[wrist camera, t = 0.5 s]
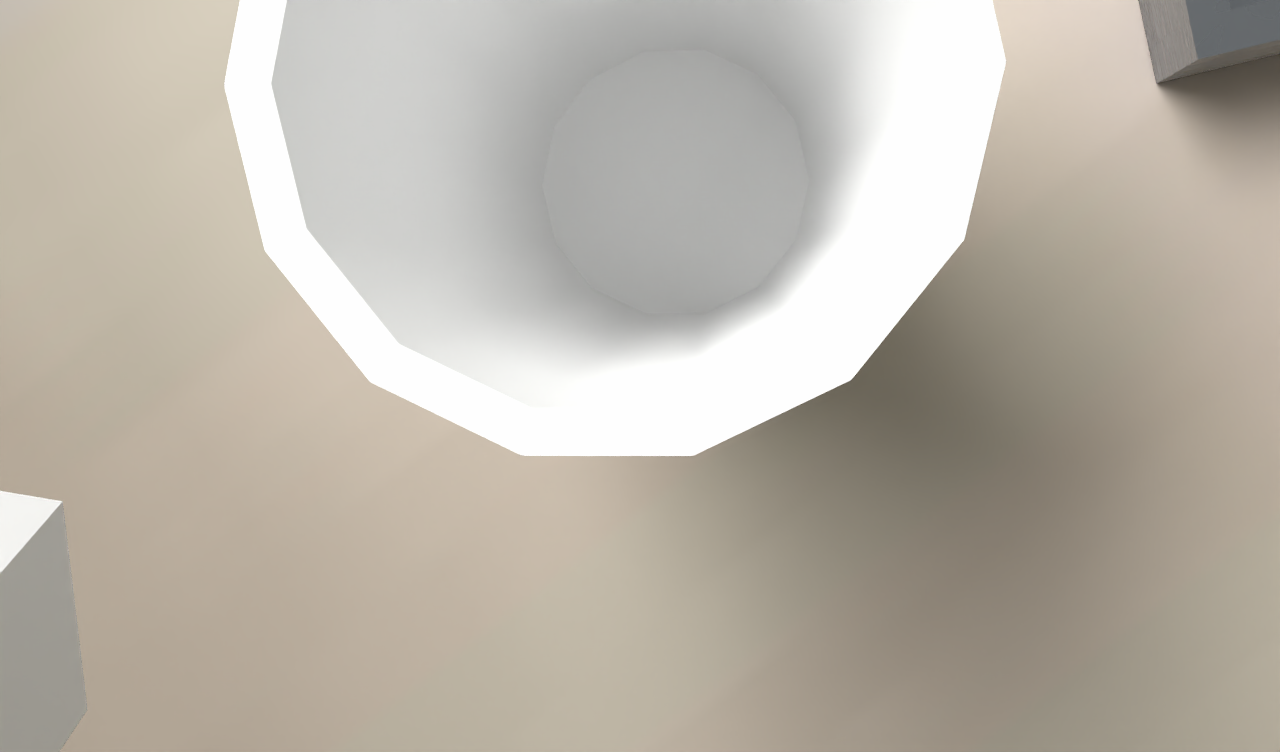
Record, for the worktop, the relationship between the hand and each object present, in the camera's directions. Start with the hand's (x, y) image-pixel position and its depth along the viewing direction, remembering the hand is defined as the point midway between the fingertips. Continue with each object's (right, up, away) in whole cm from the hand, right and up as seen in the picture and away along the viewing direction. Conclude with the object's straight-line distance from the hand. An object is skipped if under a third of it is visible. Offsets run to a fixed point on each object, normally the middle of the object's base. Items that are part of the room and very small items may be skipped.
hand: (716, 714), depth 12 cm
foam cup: (0, +8, +16) cm, 17 cm away
